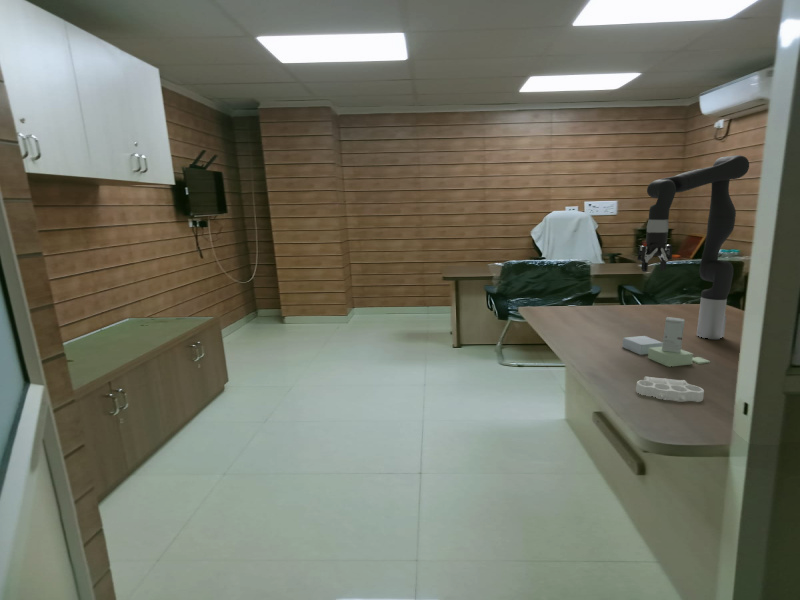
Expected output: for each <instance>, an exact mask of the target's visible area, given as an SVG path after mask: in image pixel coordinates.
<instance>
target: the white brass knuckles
mask: <svg viewBox="0 0 800 600" xmlns="http://www.w3.org/2000/svg"><path fill="white" fill-rule="evenodd" d="M635 392H636V393H637V394H638V393H639V394H638V395H640V394H641V395H640V396H643V395H646V396H645V397H651V396H653V397H652V398H655V397H656V399H659V400H662V399H663V400H664V401H674V402H680V403H681V402H683V403H684V402H696V403H699V402H702V401H703V400H704V395H705V394H704V393H705V390H704V388H702V387H700V386H697V385H694V384H690V383H688V382H687V380H685V379H673V378H672V379H671V378H666V377H664V378H663V377H662V378H661V377H653V376H652V377H651V376H647V375H646V376H644V377H643V379H640V380H637V382H636V388H635Z"/></svg>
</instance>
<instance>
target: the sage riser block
mask: <svg viewBox="0 0 800 600" xmlns="http://www.w3.org/2000/svg"><path fill="white" fill-rule="evenodd" d="M693 357H694V353H692V352H689V351H686V350H684V349H682V348H681V351H680V353H675V352H668V351H662V347H653V348H649V353H648V354H647V358H648V359H649V360H652V361H653V362H656V363H659V364H661V365H663V366H666V367H669V368H672V367H678V366H687V365H689V366H690V365H693V362H692V359H693ZM671 366H672V367H671Z"/></svg>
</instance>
